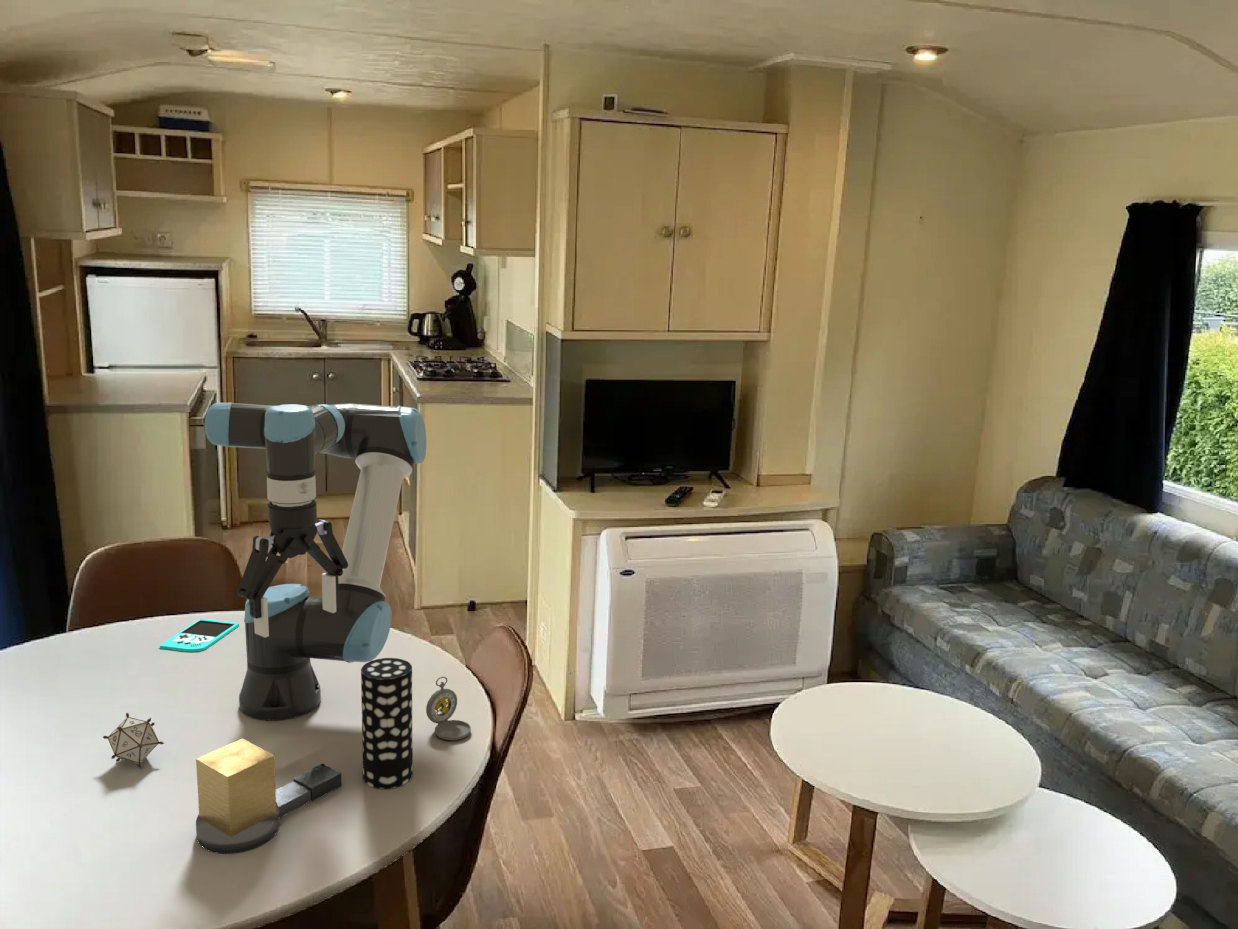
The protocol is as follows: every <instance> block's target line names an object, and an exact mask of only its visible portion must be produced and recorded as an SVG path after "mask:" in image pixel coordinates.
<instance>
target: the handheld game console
mask: <svg viewBox="0 0 1238 929" xmlns="http://www.w3.org/2000/svg"><path fill="white" fill-rule="evenodd" d="M239 627H240V623H239V622H235V621H234V622H233V621H225V620H218V619H217V620H216V619H209V618H207V619H206V618H200V619H199V620H197V621H195V622H193V623H192V624H190V625H189V626H187V627H186V628H184V629H183V630H181V631H180V632H178V633H177V634H175V635H173V636H172V637H170V638H169V639H167V640H166V641H164V642H163V643H160V645H159V648H160V649H162V650H170V651H177V652H178V651H180V652H185V653H186V652H188V653H190V652H191V653H192V652H194V653H195V652H204V651H205V650H207V649H209V648H210V647H211V646H213V645H214V644H216V643H217V642H219V641H220V640H222V639H223V638H225V637H226V636H227V635H228V634H230V633H231V632H233V631H234V630H236V629H237V628H239Z"/></svg>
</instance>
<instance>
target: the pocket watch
mask: <svg viewBox="0 0 1238 929" xmlns="http://www.w3.org/2000/svg"><path fill="white" fill-rule="evenodd" d="M440 679H445V682H444V681H441V682H440V683H438V682H439V680H440ZM447 683H448V678H447V677H446V676H440V677H438V678H437V679H436V681H435V685H436V686H437V687H439V688H440V689H438V690H436V691H435V692H434V693H433V694H432V695H431V696H430V697H429V699H428V701H427V704H426V707H425V708H426V710H425V711H426V712H425V714H426V716H427V718H428V719H429V721H431V723H433V724H437V725H435V728H434V734H435V735H436V736H437V737H438V738H439V739H442V740H447V741H456V740H461V739H464V738H466V737H467V736H469V735H470V733H471V730H472V727H471V724H469V723H468V722H467V721H464V720H457V719H451V720H449V719H450V718H451V717H452V716H453V715H454V714H455V712H456V709H457V705H458V696H457V694H456V692H455V691H454V690H452V689H450V688H444V687H445V686H446V684H447ZM439 712H440V713H439Z"/></svg>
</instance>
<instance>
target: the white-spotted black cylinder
mask: <svg viewBox="0 0 1238 929" xmlns="http://www.w3.org/2000/svg"><path fill="white" fill-rule="evenodd" d="M360 680H361V681H360V684H361V685H360V687H361V691H360V692H361V733H362V734H361V742H362V743H361V745H362V750H361V751H362V780H363V782H364V784H366V785H367V786H369V787H371V788H374V789H378V790H380V789H381V790H388V789H394V788H398V787H402V786H403V785H406V784H407V783H409V781H410V780H412V778H413V774H414V773H413V771H414V770H413V767H414V766H413V761H414V760H413V759H414V758H413V665H412V664H411V662H409V661H407V660H405V659H402V658H396V657H383V658H377V659H376V658H375V659H373V660H372V661H369V662H365V664H363V665H362V666H361V668H360Z"/></svg>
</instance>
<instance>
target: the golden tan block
mask: <svg viewBox="0 0 1238 929" xmlns="http://www.w3.org/2000/svg"><path fill="white" fill-rule="evenodd" d="M195 764H196V765H195V766H196V780H197V781H196V782H197V798H198V799H197V800H198V811H199V812H198V815H199V818H201V819H202V820H204V821H206V822H207V823H209V824H210V825H212V826H214V827H215V828H217V829H218V830H220V831H222V832H223V833H225V834H226V835H228V836H230V837H232V836H234V835H236V834H238V833H240V832H242V831H244V830H246V829H248V828H249V827H251V826H253V825H255V824H257V823H259V822H261V821H263V820H265V819H267V818H268V817H270V816H272V815H274V814H276V790H277V788H276V770H275V769H276V768H275V766H276V765H275V754H273V753H270V752H269V751H267V750H265V749H263V748H262V747H260V746H258V745H256V744H254V743H252V742H251V741H248V740H247V739H244V738H240V739H238V740H235V741H234V742H230V743H229V744H226V745H225V746H222V747H220V748H218V749H216V750H213V751H211V752H208V753H207V754H204V755H201V756H200V757H198V758H197V757H196V758H195Z"/></svg>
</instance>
